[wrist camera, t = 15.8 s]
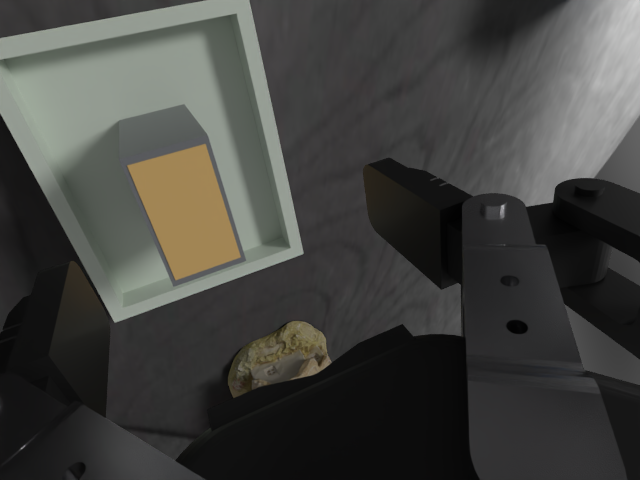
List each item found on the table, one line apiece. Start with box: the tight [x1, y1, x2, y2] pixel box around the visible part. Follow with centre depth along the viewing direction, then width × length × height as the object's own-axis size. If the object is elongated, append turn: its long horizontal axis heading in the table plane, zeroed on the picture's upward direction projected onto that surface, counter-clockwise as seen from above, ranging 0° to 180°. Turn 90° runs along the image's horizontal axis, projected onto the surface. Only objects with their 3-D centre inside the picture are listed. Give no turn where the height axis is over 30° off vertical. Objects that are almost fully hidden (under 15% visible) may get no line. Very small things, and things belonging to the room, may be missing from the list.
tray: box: [0, 0, 304, 322], centre depth 31 cm, size 16×20×3 cm
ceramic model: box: [228, 321, 331, 398], centre depth 43 cm, size 14×11×10 cm
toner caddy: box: [119, 104, 246, 287], centre depth 28 cm, size 4×8×10 cm, turn 10°
